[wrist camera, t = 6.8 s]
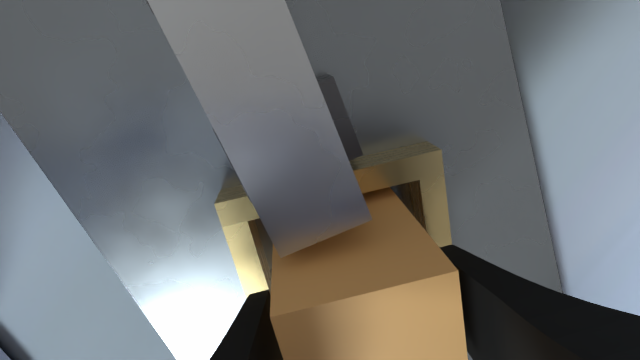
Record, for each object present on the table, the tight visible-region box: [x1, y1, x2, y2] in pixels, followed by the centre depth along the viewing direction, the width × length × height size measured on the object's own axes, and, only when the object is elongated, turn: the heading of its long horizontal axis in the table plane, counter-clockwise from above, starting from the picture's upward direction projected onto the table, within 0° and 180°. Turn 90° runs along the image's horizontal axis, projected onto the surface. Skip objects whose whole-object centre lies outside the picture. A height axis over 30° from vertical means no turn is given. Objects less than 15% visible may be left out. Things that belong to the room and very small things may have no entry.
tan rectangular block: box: [270, 187, 468, 360], centre depth 11 cm, size 4×4×6 cm
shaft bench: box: [0, 0, 563, 360], centre depth 12 cm, size 15×26×5 cm, turn 22°
